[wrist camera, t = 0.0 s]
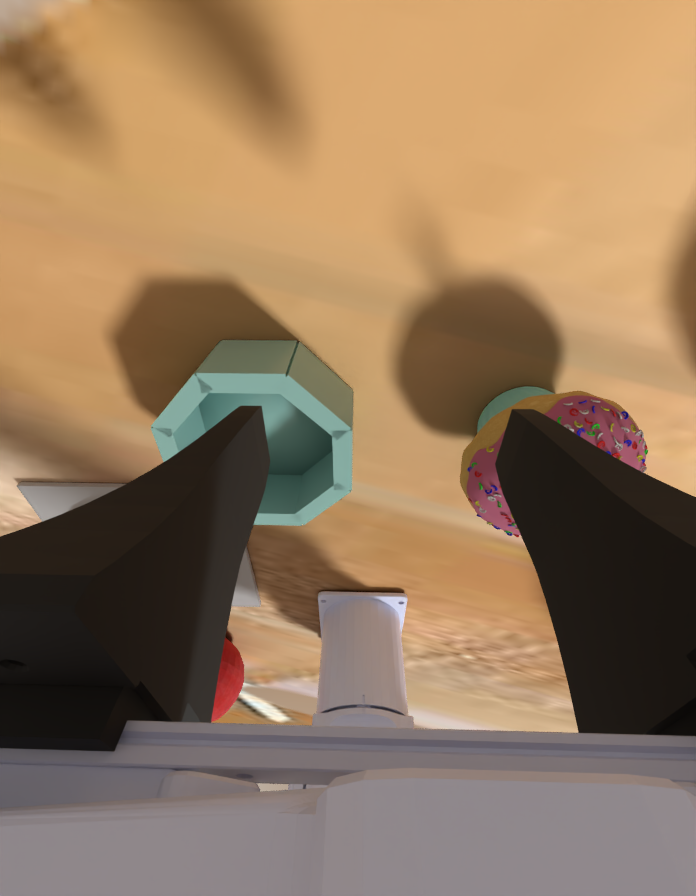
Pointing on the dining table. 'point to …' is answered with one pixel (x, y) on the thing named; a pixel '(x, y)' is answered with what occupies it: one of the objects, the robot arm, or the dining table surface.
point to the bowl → (273, 421)
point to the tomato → (228, 680)
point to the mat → (68, 496)
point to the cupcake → (572, 410)
